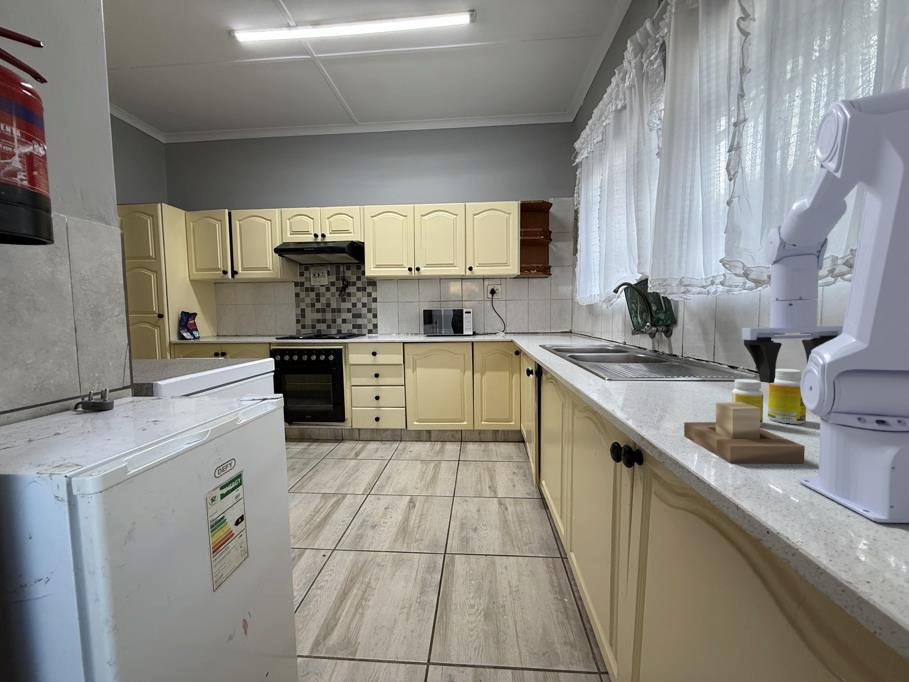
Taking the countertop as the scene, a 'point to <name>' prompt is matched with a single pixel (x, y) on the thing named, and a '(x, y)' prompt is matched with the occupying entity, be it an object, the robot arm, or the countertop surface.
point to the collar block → (745, 445)
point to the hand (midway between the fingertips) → (791, 381)
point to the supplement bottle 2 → (786, 397)
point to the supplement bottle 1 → (749, 394)
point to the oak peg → (737, 420)
